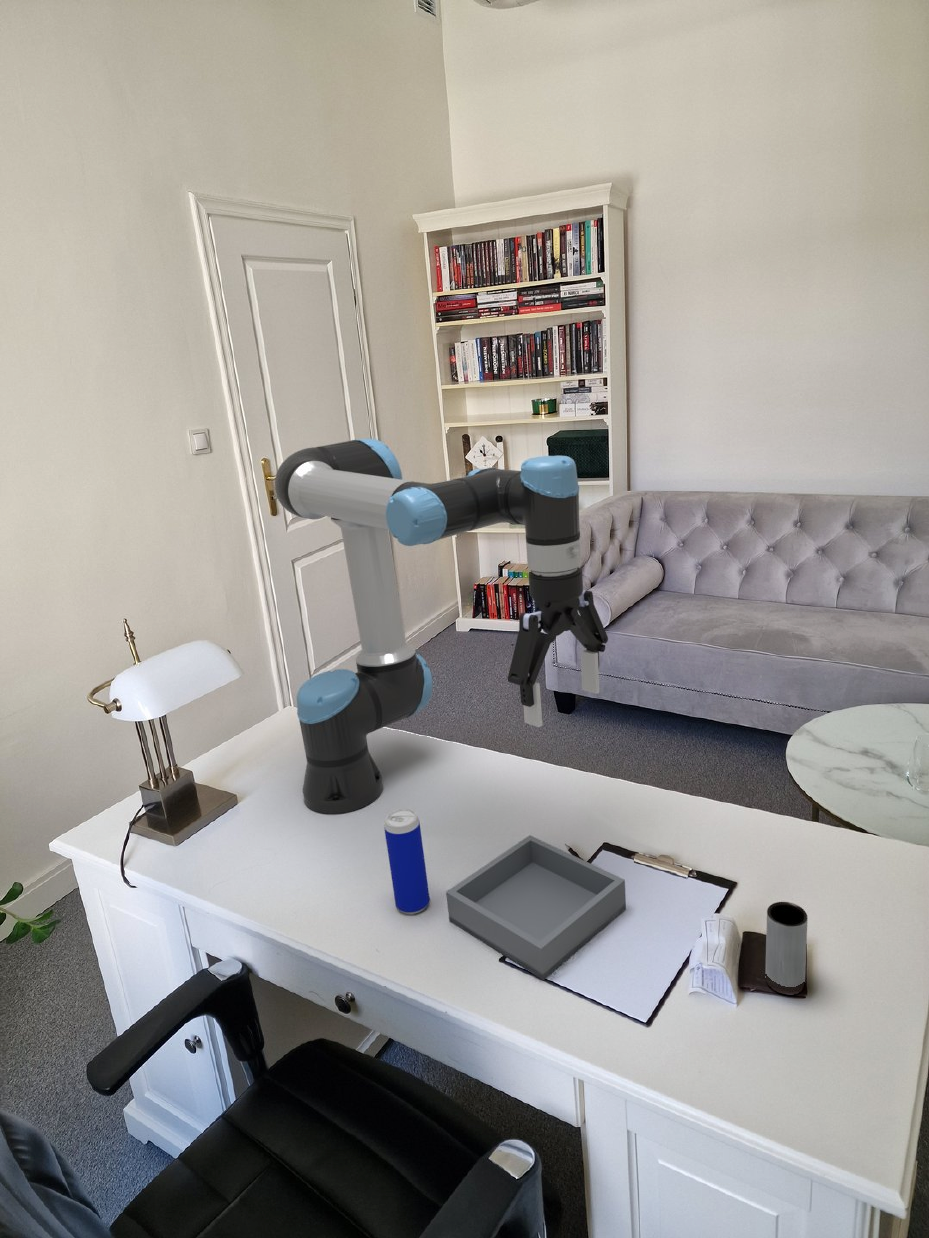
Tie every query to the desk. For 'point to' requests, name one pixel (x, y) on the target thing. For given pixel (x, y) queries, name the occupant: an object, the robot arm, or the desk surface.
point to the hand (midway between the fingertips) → (563, 707)
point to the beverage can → (407, 861)
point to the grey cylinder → (786, 944)
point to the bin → (536, 904)
